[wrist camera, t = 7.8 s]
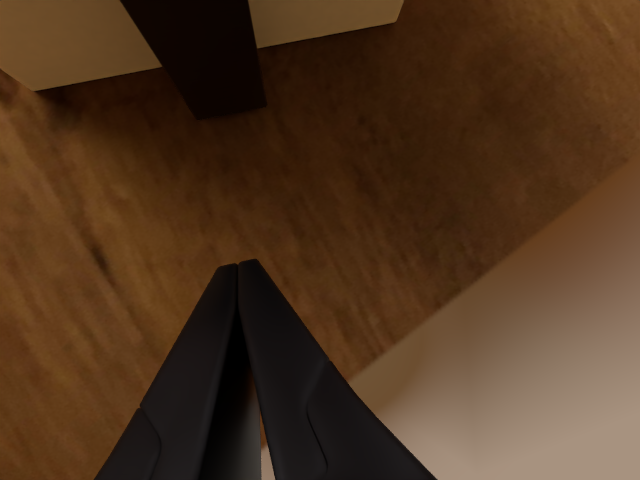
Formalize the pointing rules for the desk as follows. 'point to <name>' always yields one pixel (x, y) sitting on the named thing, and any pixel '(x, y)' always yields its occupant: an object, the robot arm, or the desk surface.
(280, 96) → the desk surface
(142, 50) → the loaf cake
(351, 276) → the desk surface
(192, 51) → the cake knife
